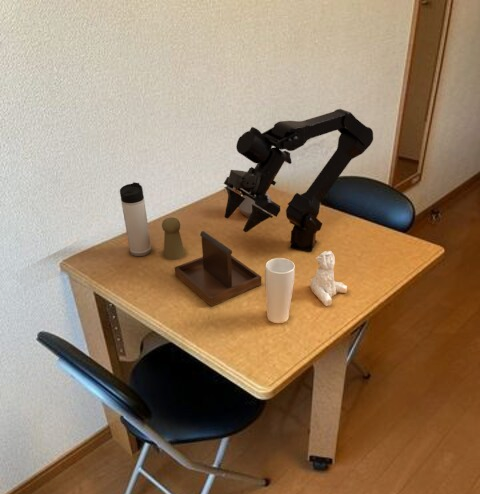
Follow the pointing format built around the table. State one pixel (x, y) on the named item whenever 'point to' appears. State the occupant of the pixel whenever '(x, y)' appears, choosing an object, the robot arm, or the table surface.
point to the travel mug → (135, 219)
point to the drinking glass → (279, 288)
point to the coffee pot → (248, 204)
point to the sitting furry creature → (326, 279)
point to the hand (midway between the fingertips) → (234, 224)
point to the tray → (217, 273)
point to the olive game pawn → (172, 239)
